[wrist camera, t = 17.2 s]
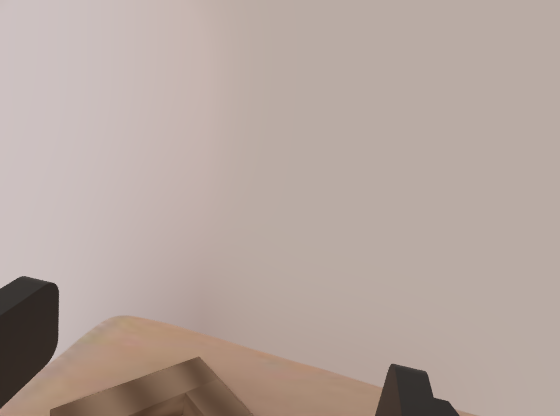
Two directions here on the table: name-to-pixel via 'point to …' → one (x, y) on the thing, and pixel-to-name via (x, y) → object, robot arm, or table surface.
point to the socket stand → (162, 396)
